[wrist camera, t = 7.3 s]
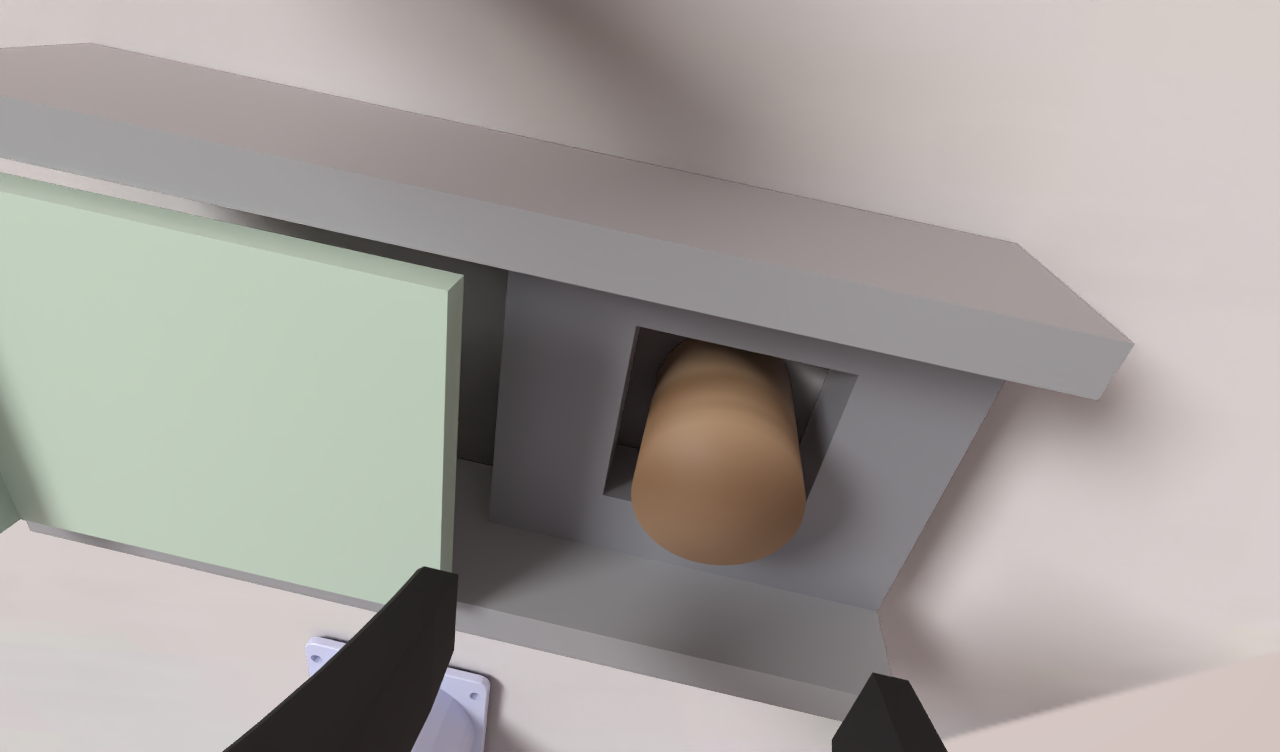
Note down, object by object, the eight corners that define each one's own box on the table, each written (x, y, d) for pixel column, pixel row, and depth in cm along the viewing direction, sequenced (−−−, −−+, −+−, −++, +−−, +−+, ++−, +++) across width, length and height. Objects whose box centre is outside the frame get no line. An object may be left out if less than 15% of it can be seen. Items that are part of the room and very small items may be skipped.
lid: (450, 592, 17) (418, 658, 15) (13, 490, 17) (-68, 544, 15) (463, 275, 12) (419, 319, 11) (-134, 142, 13) (-273, 164, 11)
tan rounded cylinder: (770, 458, 20) (778, 580, 16) (645, 432, 20) (619, 544, 16) (808, 347, 18) (829, 452, 14) (668, 318, 18) (646, 412, 14)
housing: (851, 575, 22) (881, 730, 17) (178, 420, 23) (30, 530, 18) (1017, 243, 16) (1134, 343, 11) (90, 43, 17) (-171, 57, 12)
